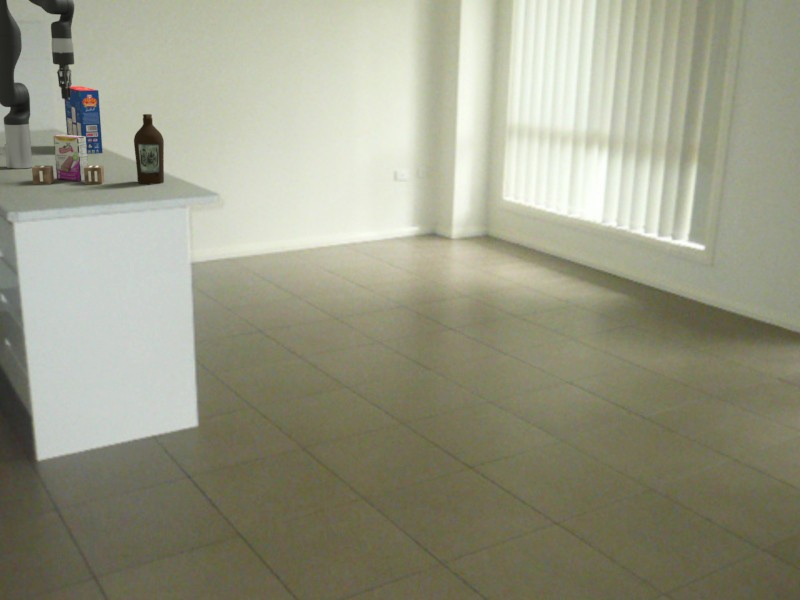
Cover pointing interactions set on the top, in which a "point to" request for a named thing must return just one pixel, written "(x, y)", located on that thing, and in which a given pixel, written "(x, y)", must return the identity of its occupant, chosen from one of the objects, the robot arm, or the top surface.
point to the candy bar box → (70, 157)
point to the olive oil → (149, 153)
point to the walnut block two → (94, 174)
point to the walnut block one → (42, 174)
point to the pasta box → (84, 117)
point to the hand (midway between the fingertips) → (66, 97)
